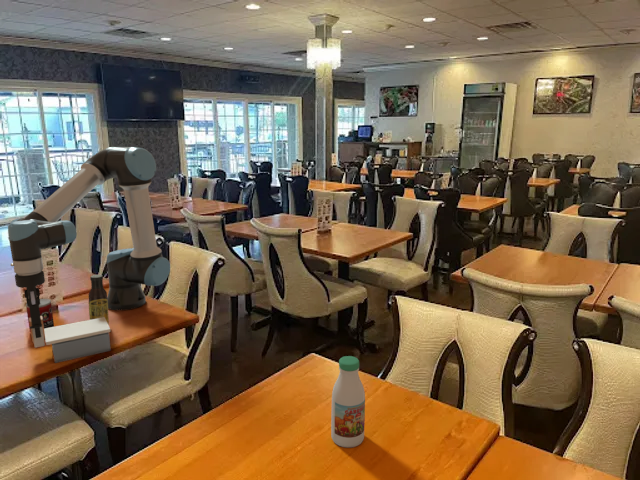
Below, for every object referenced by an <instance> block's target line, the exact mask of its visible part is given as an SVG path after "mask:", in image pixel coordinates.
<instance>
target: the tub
mask: <svg viewBox="0 0 640 480" xmlns="http://www.w3.org/2000/svg"><path fill="white" fill-rule="evenodd" d="M51 346H52V347H51V349H52V355H53V359H54V363H55V364H56V363H61V362H67V361H70V360H75V359H80V358H85V357H88V356H93V355H97V354H100V353H101V354H102V353H105V352H110V351H112V348H111V340H110V332H107V333H103V334H98V335H93V336H90V337H85V338H80V339H75V340H69V341H64V342H59V343H55V344H51Z"/></svg>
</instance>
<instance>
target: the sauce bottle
mask: <svg viewBox="0 0 640 480" xmlns="http://www.w3.org/2000/svg"><path fill="white" fill-rule="evenodd" d="M89 279H90V284H91V288H90V290H89V293H88V314H89V315H88V316H89V320H92V319H97V318H102V317H105V319H106V321H107V323H108V325H109V322H110V321H109V308H108V301H107V296H108V293H107V290H106V289H105V288H104V281H103V280H104V276H103V274H94V275H93V274H92V275H91V276H90V278H89ZM109 326H110V325H109Z"/></svg>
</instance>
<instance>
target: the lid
mask: <svg viewBox="0 0 640 480" xmlns="http://www.w3.org/2000/svg"><path fill="white" fill-rule="evenodd" d="M40 318H41V324H42V329H43V336H44V342H45V346H49V345H52V344H55V343H59V342H64V341H69V340H75V339H80V338H85V337H90V336H93V335H98V334H103V333H107V332H108V333H110V332H111V328H110V325H108V323H107V321H106V319H105V317H102V318H97V319H92V320H90V319H87V320H81V321H76V322H73V323H72V322H71V323H67V324H62V325H56V326H55V325H54V327H50V328H45V329H44V325H43V318H42V316H40ZM29 322H30V326H32V322H31V318H29ZM30 335H31V340H32V343H33V344H34V339H33V332H32V329H31V333H30Z"/></svg>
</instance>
